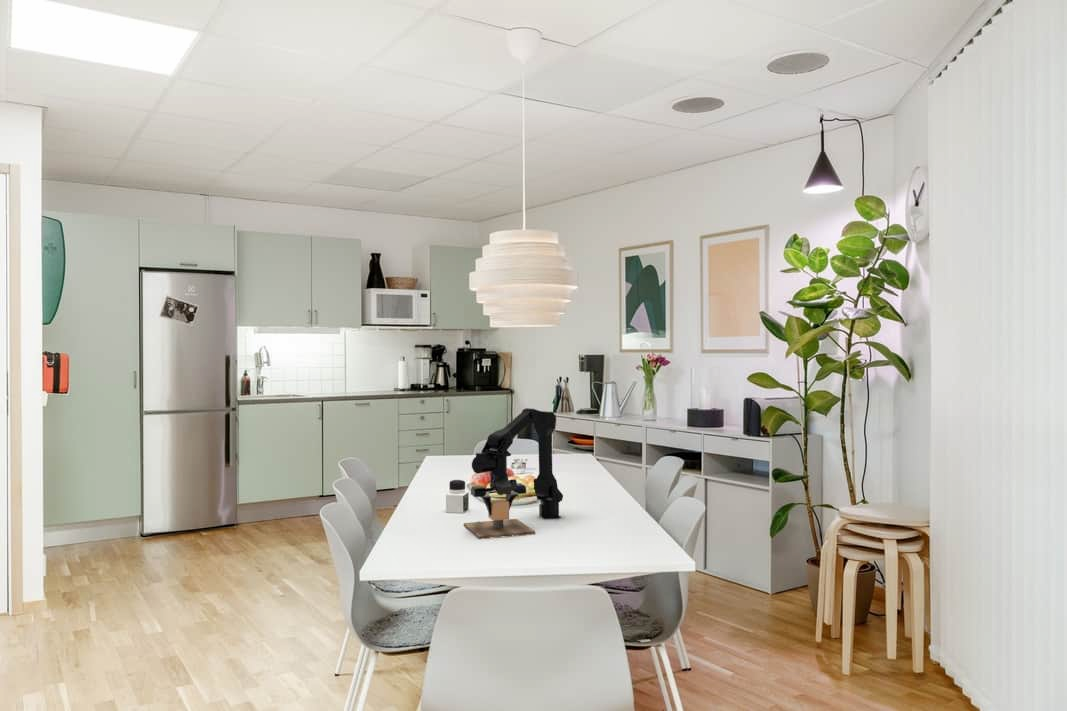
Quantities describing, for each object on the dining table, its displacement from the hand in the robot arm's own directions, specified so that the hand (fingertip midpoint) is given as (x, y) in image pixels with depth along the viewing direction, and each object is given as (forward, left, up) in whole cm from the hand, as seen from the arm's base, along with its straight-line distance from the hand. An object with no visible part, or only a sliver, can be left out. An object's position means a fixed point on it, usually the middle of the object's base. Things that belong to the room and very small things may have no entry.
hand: (498, 514), depth 270 cm
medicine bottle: (+6, -35, -6) cm, 36 cm away
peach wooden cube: (0, 0, -1) cm, 1 cm away
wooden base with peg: (0, 0, -5) cm, 5 cm away
